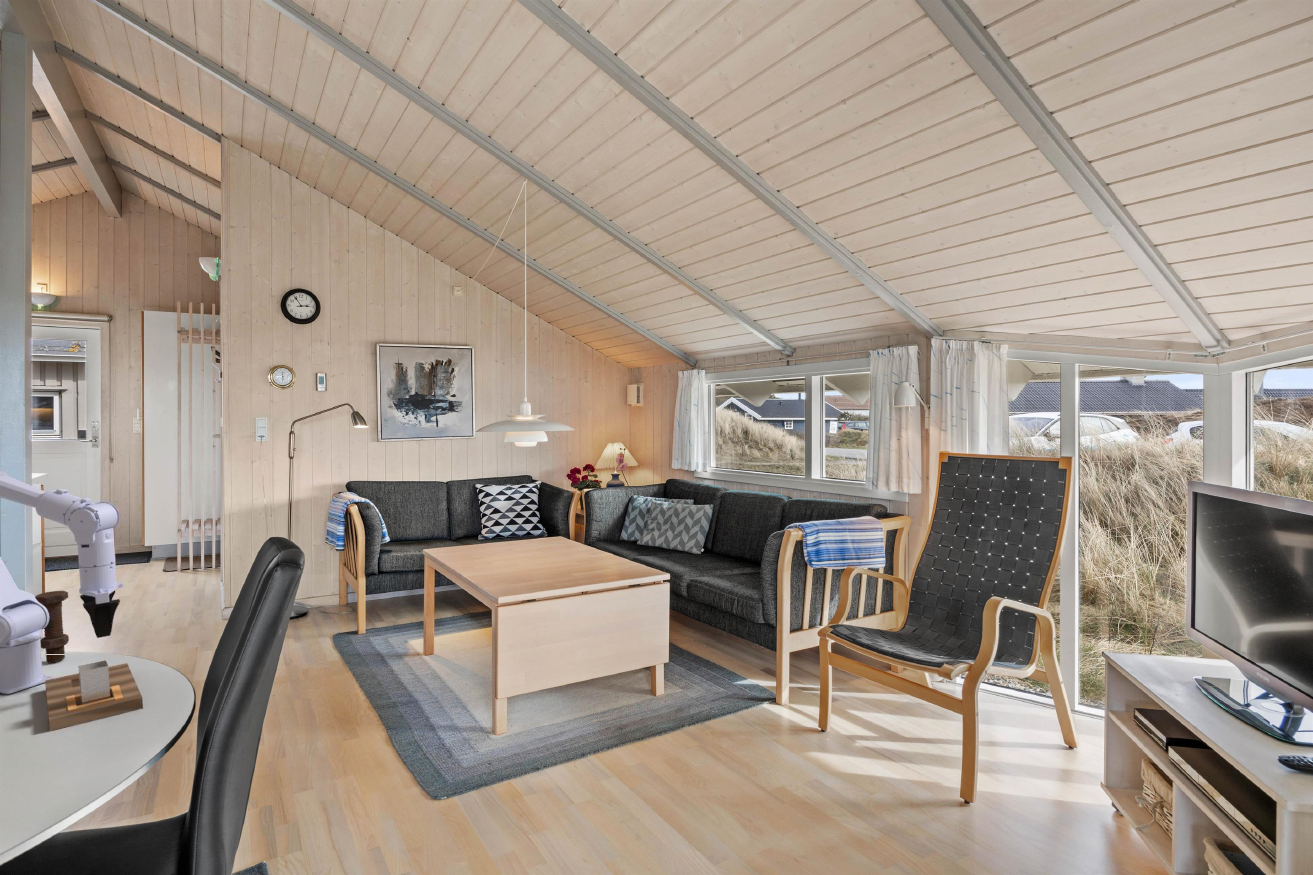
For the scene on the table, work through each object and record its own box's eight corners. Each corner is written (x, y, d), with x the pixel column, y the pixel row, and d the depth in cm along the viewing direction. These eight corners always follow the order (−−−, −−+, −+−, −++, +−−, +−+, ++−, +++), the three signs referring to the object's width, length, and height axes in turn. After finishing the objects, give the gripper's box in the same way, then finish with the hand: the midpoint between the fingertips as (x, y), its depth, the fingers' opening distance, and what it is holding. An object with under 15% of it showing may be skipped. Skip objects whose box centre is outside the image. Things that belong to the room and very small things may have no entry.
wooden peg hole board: (45, 690, 141) (45, 679, 141) (127, 672, 149) (127, 661, 149) (50, 731, 123) (49, 718, 123) (143, 707, 132) (142, 696, 131)
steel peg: (81, 708, 132) (78, 665, 131) (108, 702, 135) (105, 660, 134) (83, 715, 129) (80, 671, 128) (111, 708, 132) (108, 665, 131)
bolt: (78, 657, 159) (73, 590, 158) (57, 665, 154) (52, 596, 153) (54, 657, 160) (49, 590, 159) (32, 665, 155) (27, 596, 154)
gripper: (126, 566, 140) (130, 635, 141) (118, 555, 151) (122, 619, 151) (80, 573, 135) (84, 644, 136) (75, 561, 146) (79, 627, 147)
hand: (101, 631), depth 143 cm, fingers open, 7 cm apart
